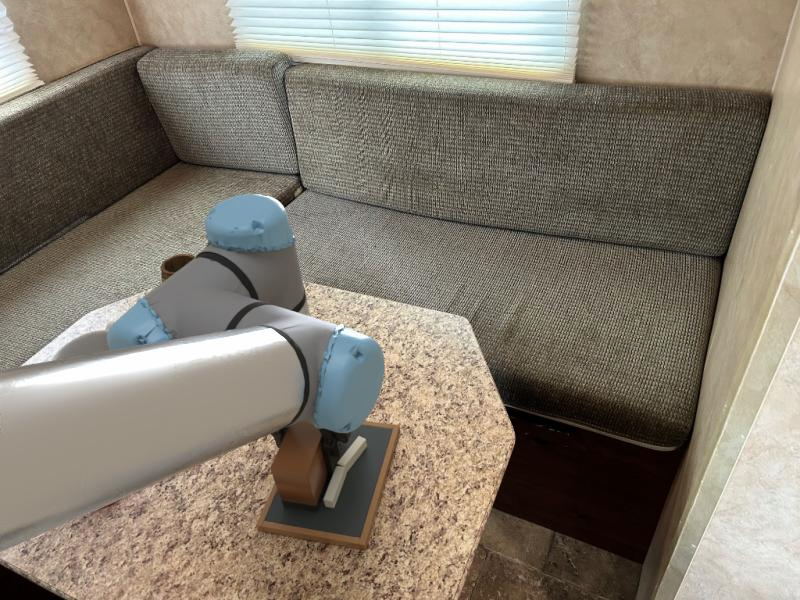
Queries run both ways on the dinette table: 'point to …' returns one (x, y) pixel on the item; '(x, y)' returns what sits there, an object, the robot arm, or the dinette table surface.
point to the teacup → (85, 344)
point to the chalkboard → (341, 496)
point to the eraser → (301, 468)
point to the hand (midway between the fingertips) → (314, 464)
